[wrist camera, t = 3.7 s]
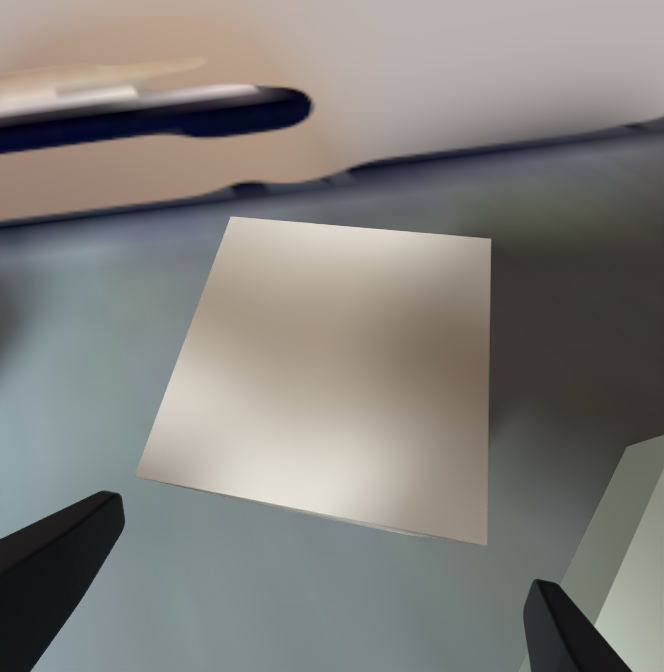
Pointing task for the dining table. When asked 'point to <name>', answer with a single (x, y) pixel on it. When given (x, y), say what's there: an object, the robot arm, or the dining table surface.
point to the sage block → (625, 561)
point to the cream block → (337, 378)
